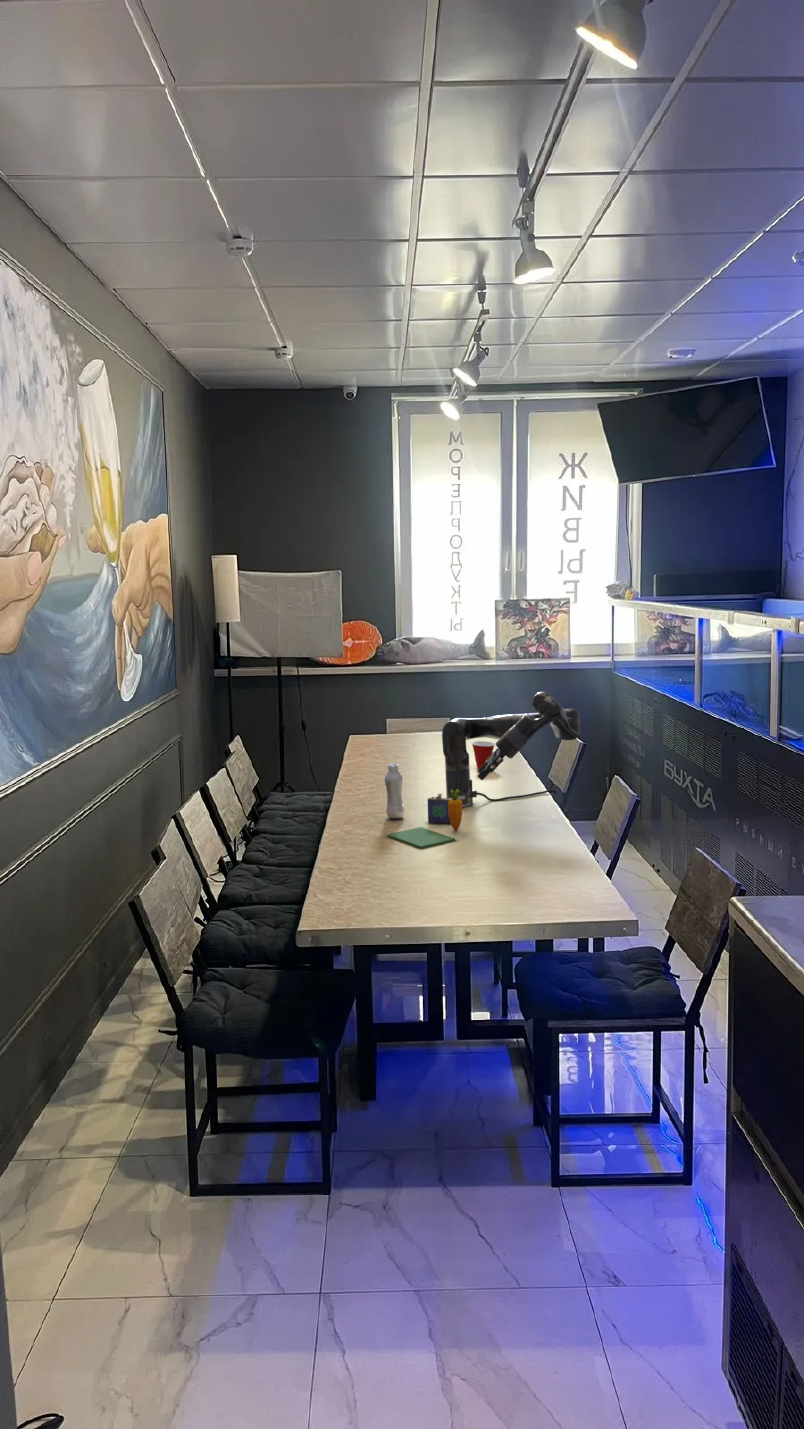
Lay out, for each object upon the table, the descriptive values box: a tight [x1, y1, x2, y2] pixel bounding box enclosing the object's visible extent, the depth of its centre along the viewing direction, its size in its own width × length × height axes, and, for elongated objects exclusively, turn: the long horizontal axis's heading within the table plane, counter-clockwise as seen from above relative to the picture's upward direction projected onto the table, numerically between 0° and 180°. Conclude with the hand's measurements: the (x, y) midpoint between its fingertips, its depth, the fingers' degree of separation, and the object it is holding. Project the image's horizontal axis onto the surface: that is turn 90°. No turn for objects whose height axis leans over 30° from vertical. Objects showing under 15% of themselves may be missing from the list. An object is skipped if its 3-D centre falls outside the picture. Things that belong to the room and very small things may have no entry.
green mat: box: [386, 826, 456, 849], centre depth 323 cm, size 14×20×1 cm
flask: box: [427, 793, 452, 825], centre depth 341 cm, size 9×3×11 cm, turn 74°
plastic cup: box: [471, 740, 496, 770], centre depth 434 cm, size 11×11×12 cm
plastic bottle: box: [384, 763, 405, 820], centre depth 350 cm, size 6×7×20 cm
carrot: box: [448, 789, 463, 833], centre depth 329 cm, size 5×5×15 cm
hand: (479, 775), depth 326 cm, fingers open, 8 cm apart
